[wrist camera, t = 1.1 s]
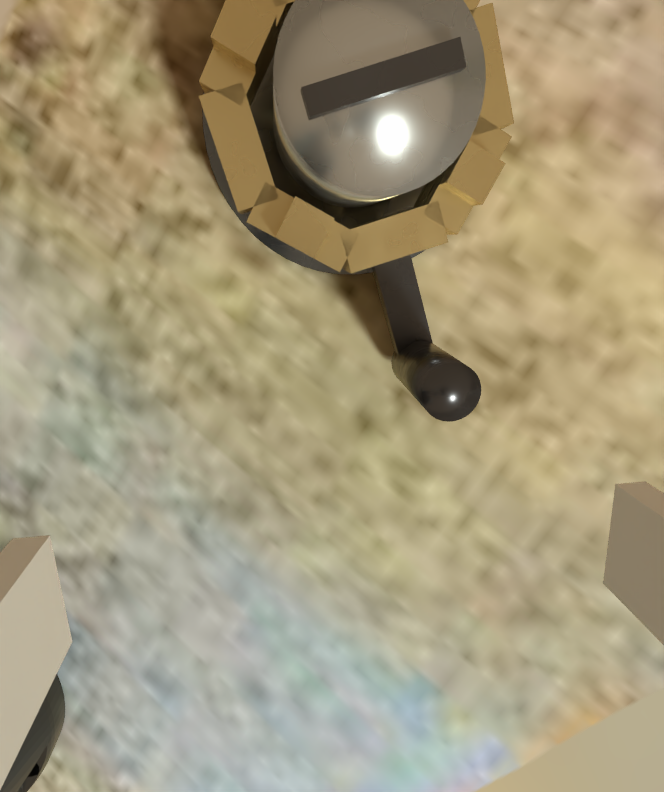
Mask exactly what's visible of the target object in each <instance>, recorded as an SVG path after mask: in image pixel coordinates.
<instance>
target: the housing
mask: <svg viewBox="0 0 664 792" xmlns="http://www.w3.org/2000/svg"><path fill="white" fill-rule="evenodd" d="M485 83H486V67H485V57H484V50H483V45H482V41H481V37H480V33H479V31H478V28H477V26H476V23H475V20H474V18H473V16H472V14H471V12H470V10H469V8H468V7H467V5H466V3H465V2H464V1H463V0H295V2H294V3H293V4H292V6H291V8H290V10H289V12H288V14H287V16H286V18H285V20H284V22H283V25H282V28H281V30H280V33H279V37H278V41H277V45H276V49H275V53H274V55H273V58H272V60H271V62H270V64H269V67H268V69H267V71H266V73H265V75H264V78H263V80H262V82H261V84H260V87H259V89H258V91H257V93H256V96H255V98H254V100H253V102H252V105H251V107H250V109H251V112H252V115H253V119H254V122H255V125H256V128H257V131H258V134H259V138H260V141H261V144H262V147H263V150H264V153H265V157H266V160H267V163H268V166H269V169H270V172H271V175H272V179H273V182H274V185H275V187H276V188H277V189H279V190H281V191H283V192H285V193H286V194H288V195H290V196H292V197H293V198H295V196H296V197H298V198H300V199H301V200H303V201H305V202H307V203H308V204H310V205H312V206H314V207H316V208H317V209H319V210H321V211H323V212H324V213H326V214H328V215H330V216H331V217H333V218H335V219H334V221H336V222H338V223H339V224H341V225H343V226H345V227H347V228H351V227H354V226H357V225H360V224H364V223H367V222H370V221H373V220H376V219H379V218H382V217H385V216H388V215H391V214H395V213H398V212H401V211H404V210H407V209H410V208H413V207H414V205H415V203H416V201H417V199H418V197H419V195H420V193H421V191H422V190H423V188H424V186H425V184H427V183H428V182H430V181H432V180H433V179H435V178H436V177H437V176H439V175H440V174H441V173H443V172H444V171H445V170H446V169H447V168H448V167H449V166H450V165H451V164H452V163H453V162H454V161H455V160H456V158H457V157H458V156H459V155H460V153H461V152H462V151H463V149H464V147H465V146H466V144H467V143H468V141H469V139H470V138H471V135H472V133H473V131H474V129H475V127H476V124H477V121H478V118H479V115H480V112H481V109H482V104H483V99H484V93H485ZM203 94H205V93H203ZM202 111H203V108H202ZM203 131H204V137H205V143H206V150H207V153H208V157H209V160H210V164H211V167H212V170H213V173H214V175H215V178H216V180H217V183H218V185H219V187H220V189H221V191H222V193H223V195H224V197H225V198H226V200H227V202H228V204H229V205H230V207H231V208H232V210H233V211H234V212H235V214H236V215H237V216H238V218H239V219H240V221H241V222H242V223H243V224H244V225H245V226H246V227H247V228H248V229H249V230H250V232H251V233H252V234H253V235H254V236H255V237H256V238H258V239H259V240H260V241H261V242H263V243H264V244H265V245H266V246H267V247H269V248H270V249H271V250H273V251H275V252H276V253H278V254H280V255H281V256H283V257H284V258H286V259H288V260H290V261H293V262H295V263H297V264H299V265H301V266H304V267H307V268H311V269H314V270H317V271H322V272H328V273H334V274H363V273H371V272H373V271H372V267H370V268H367V269H364V270H361V271H358V272H355V273H349V272H347V271H345V270H344V269H343V267H342V269H341V271H340V272H338V271H336V270H334V269H332V268H330V267H329V266H327V265H325V264H323V263H321V262H319V261H317V260H316V259H314V258H312V257H310V256H308V255H306V254H304V253H303V252H301V251H299V250H297V249H295V248H293V247H292V246H290V245H288V244H286V243H284V242H282V241H280V240H279V239H277V238H275V237H273V236H271V235H269V234H268V233H266V232H264V231H262V230H260V229H258V228H256V227H255V226H253V225H251V224H249V223H247V220H248V217H249V215H250V213H251V212H247V213H244V214H240V213H239V212H238V210H237V208H236V205H235V202H234V199H233V196H232V193H231V190H230V187H229V184H228V181H227V178H226V175H225V172H224V169H223V167H222V164H221V161H220V158H219V155H218V152H217V149H216V146H215V143H214V140H213V137H212V134H211V131H210V128H209V125H208V123H207V120H206V117H205V114H204V111H203ZM423 251H424V250H423ZM423 251H419V252H416V253H413V254H410V256H411V258H413V257H415V256H417V255H418V254H420V253H422V252H423Z"/></svg>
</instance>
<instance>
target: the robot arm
mask: <svg viewBox="0 0 664 792" xmlns="http://www.w3.org/2000/svg"><path fill="white" fill-rule="evenodd" d="M603 584H604V585H605V586H606V587H607V588H608V589H609V590H610V591H611V592H612V593H613V594H614V595H615V596H616V597H617V598H618V599H619V600H620V601H621V602H622V603H623V604H624V605H625V606H626V607H627V608H628V609H629V610H630V611H631V612H632V613H633V614H634V615H635V616H636V617H637V618H638V619H639V620H640V621H641V622H642V623H643V624H644V625H645V626H646V627H647V628H648V629H649V631H650V632H651V633H652V634H653V635H654V636H655V637H656V638H657V639H658V640H659V641H660V642H661V643H662V644H663V645H664V493H663V492H661V491H659V490H658V489H656V488H655V487H653V486H652V485H650V484H648V483H647V482H635V483H624V484H615V492H614V501H613V509H612V517H611V525H610V533H609V541H608V549H607V557H606V565H605V573H604V581H603ZM71 643H72V638H71V633H70V629H69V624H68V619H67V614H66V610H65V605H64V600H63V595H62V591H61V586H60V581H59V576H58V572H57V567H56V562H55V557H54V553H53V548H52V543H51V538H50V535H48V536H37V537H26V538H15V539H12V540H11V541H10V542H9V543H8V544H7V546H6V547H5V548H4V549H3V550H2V551H1V553H0V792H27V791H28V790H29V789H30V787H31V786H32V785H33V784H34V783H35V781H36V780H37V779H38V777H39V776H40V774H41V773H42V771H43V770H44V768H45V766H46V764H47V762H48V760H49V758H50V756H51V754H52V751H53V749H54V747H55V744H56V742H57V740H58V737H59V735H60V732H61V730H62V726H63V723H64V717H65V701H64V694H63V690H62V687H61V684H60V681H59V679H58V677H57V675H56V674H57V672H58V670H59V668H60V666H61V664H62V662H63V660H64V658H65V656H66V654H67V652H68V650H69V647H70V645H71Z"/></svg>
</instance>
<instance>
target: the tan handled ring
mask: <svg viewBox="0 0 664 792" xmlns="http://www.w3.org/2000/svg"><path fill="white" fill-rule="evenodd" d="M463 1H464V2H465V3H466V5H467V7H468V8H469V10H470V12H471V14H472V16H473V18H474V20H475V23H476V26H477V28H478V31H479V33H480V37H481V41H482V45H483V50H484V57H485V67H486V83H485V93H484V99H483V104H482V109H481V112H480V115H479V118H478V121H477V124H476V127H475V129H474V131H473V133H472V135H471V138H470V139H469V141H468V143H467V144H466V146H465V147H464V149H463V151H462V152H461V153H460V155H459V156H458V157H457V158H456V160H455V161H454V162H453V163H452V164H451V165H450V166H449V167H448V168H447V169H446V170H445V171H444V172H443V173H441V174H440V175H439V176H437V177H436V178H435V179H433V180H432V181H430V182H428V183H427V184H425V186H424V188H423V190H422V191H421V193H420V195H419V197H418V199H417V201H416V203H415V205H414V207H413V208H410V209H407V210H404V211H401V212H398V213H395V214H391V215H388V216H385V217H382V218H379V219H376V220H373V221H370V222H367V223H364V224H360V225H357V226H354V227H351V228H347V227H345V226H343V225H341V224H339V223H338V222H336V221H334V219H335V218H333V217H331V216H330V215H328V214H326V213H324V212H323V211H321V210H319V209H317V208H316V207H314V206H312V205H310V204H308V203H307V202H305V201H303V200H301V199H300V198H298V197H296V196H295V198H293V197H292V196H290V195H288V194H286V193H285V192H283V191H281V190H279V189H277V188H276V187H275V185H274V182H273V179H272V175H271V172H270V169H269V166H268V163H267V160H266V157H265V153H264V150H263V147H262V144H261V141H260V138H259V134H258V131H257V128H256V125H255V122H254V119H253V115H252V112H251V109H250V107H251V105H252V102H253V100H254V98H255V96H256V93H257V91H258V89H259V87H260V84H261V82H262V80H263V78H264V75H265V73H266V71H267V69H268V67H269V64H270V62H271V60H272V58H273V55H274V53H275V49H276V45H277V41H278V37H279V33H280V30H281V28H282V25H283V22H284V20H285V18H286V16H287V14H288V12H289V10H290V8H291V6H292V4H293V3H294V2H295V0H225V3H224V5H223V8H222V10H221V12H220V15H219V17H218V19H217V22H216V24H215V27H214V29H213V31H212V34H211V36H210V38H211V41H212V44H213V49H212V51H211V54H210V56H209V58H208V61H207V63H206V65H205V68H204V70H203V72H202V75H201V77H200V80H199V83H200V85H201V87H202V89H203V91H204V93H205V94H203V95H200V96H199V99H200V102H201V105H202V108H203V111H204V114H205V117H206V120H207V123H208V125H209V128H210V131H211V134H212V137H213V140H214V143H215V146H216V149H217V152H218V155H219V158H220V161H221V164H222V167H223V169H224V172H225V175H226V178H227V181H228V184H229V187H230V190H231V193H232V196H233V199H234V202H235V205H236V208H237V210H238V212H239V213H240V214H244V213H247V212H251V213H250V215H249V217H248V220H247V223H249V224H251V225H253V226H255V227H256V228H258V229H260V230H262V231H264V232H266V233H268V234H269V235H271V236H273V237H275V238H277V239H279V240H280V241H282V242H284V243H286V244H288V245H290V246H292V247H293V248H295V249H297V250H299V251H301V252H303V253H304V254H306V255H308V256H310V257H312V258H314V259H316V260H317V261H319V262H321V263H323V264H325V265H327V266H329V267H330V268H332V269H334V270H336V271H338V272H340V271H341V269H342V267H343V269H344V270H345V271H347V272H349V273H355V272H358V271H361V270H364V269H367V268H370V267H372V271H373V274H374V278H375V282H376V285H377V289H378V292H379V296H380V300H381V303H382V307H383V311H384V314H385V318H386V321H387V325H388V329H389V332H390V336H391V340H392V343H393V347H394V350H395V351H394V353H393V356H392V369H393V372H394V374H395V375H396V377H397V378H398V379H399V380H400V381H401V382H402V383H403V385H404V386H405V387H406V388H407V389H408V390H409V391H410V392H411V394H412V395H413V396H414V397H415V398H416V399H417V400H418V401H419V402H420V404H421V405H422V406H423V407H424V408H425V409H426V410H427V411H428V412H429V414H430V415H432V416H433V417H435V418H436V419H439V420H442V421H456V420H459V419H462V418H464V417H466V416H467V415H468V414H470V413H471V412H472V411H473V410H474V408H475V407H476V405H477V404H478V402H479V399H480V395H481V384H480V380H479V378H478V376H477V375H476V373H475V372H474V371H473V370H472V369H471V368H469V367H468V366H466V365H465V364H463V363H462V362H460V361H459V360H457V359H456V358H454V357H453V356H451V355H450V354H448V353H446V352H445V351H443V350H442V349H440V348H439V347H437V346H436V345H434V344H433V343H432V339H431V335H430V331H429V327H428V323H427V319H426V315H425V311H424V307H423V303H422V299H421V295H420V291H419V287H418V283H417V279H416V275H415V271H414V267H413V263H412V259H411V256H410V254H413V253H416V252H419V251H423V250H426V249H429V248H432V247H435V246H438V245H441V244H444V243H447V242H448V240H447V235H450V234H458V232H459V231H460V229H461V227H462V225H463V223H464V222H465V220H466V218H467V216H468V215H469V213H470V211H471V209H472V207H473V206H475V205H481V204H483V203H484V201H485V199H486V197H487V196H488V194H489V192H490V190H491V188H492V187H493V185H494V183H495V181H496V179H497V178H498V176H499V174H500V172H501V170H502V169H503V167H504V165H505V163H504V162H503V161H501V160H499V159H500V157H501V155H502V153H503V152H504V150H505V148H506V146H507V144H508V143H509V141H510V139H511V137H512V136H510V135H509V134H507V133H506V132H504V131H503V130H501V129H503V128H505V127H507V126H509V125H511V124H513V123H514V120H513V114H512V108H511V103H510V97H509V92H508V86H507V81H506V75H505V69H504V64H503V58H502V53H501V47H500V42H499V36H498V30H497V25H496V19H495V14H494V8H493V3H490V4H487V5H484V6H481V7H478V8H476V7H477V5H478V3H479V1H480V0H463Z"/></svg>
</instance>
